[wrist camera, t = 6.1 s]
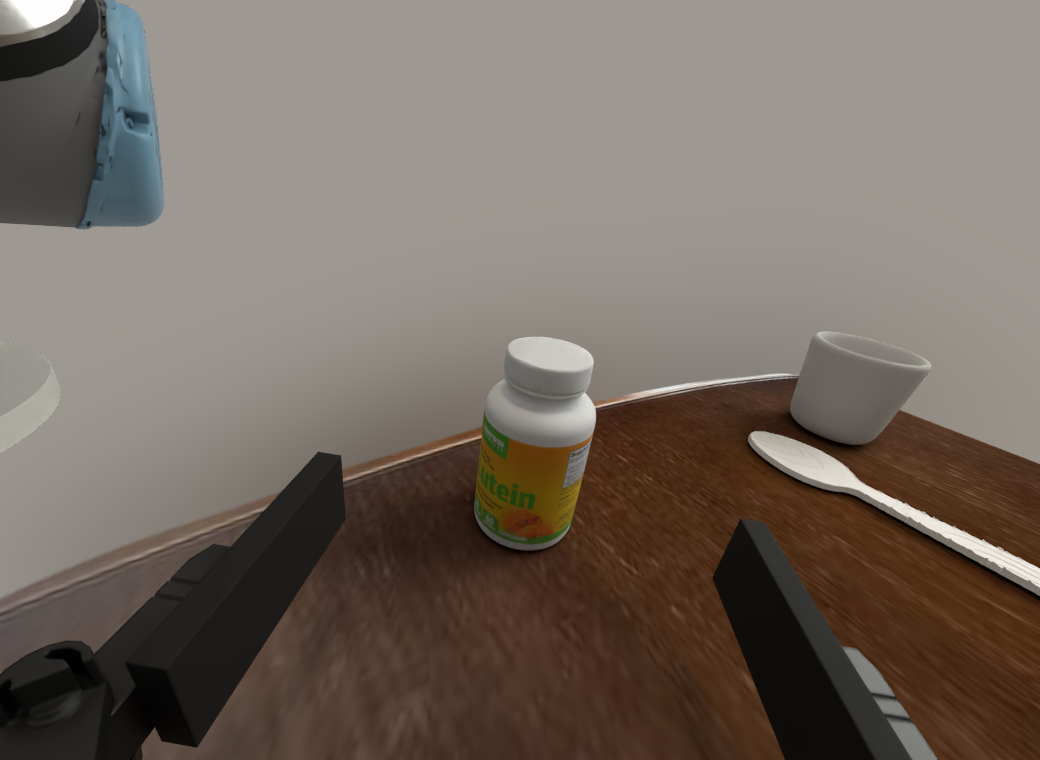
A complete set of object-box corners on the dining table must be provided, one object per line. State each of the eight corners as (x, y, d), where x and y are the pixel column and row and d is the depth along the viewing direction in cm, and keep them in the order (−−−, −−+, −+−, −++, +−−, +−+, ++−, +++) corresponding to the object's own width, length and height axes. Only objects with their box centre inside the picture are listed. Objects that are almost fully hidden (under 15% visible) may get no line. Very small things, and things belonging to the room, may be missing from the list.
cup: (844, 407, 42) (883, 334, 39) (927, 453, 35) (984, 369, 32) (758, 407, 39) (792, 328, 36) (831, 457, 33) (881, 366, 29)
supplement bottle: (452, 517, 22) (465, 347, 18) (510, 470, 26) (532, 323, 22) (537, 573, 19) (576, 391, 15) (586, 511, 23) (627, 355, 19)
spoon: (1092, 639, 20) (1100, 632, 19) (734, 445, 32) (736, 439, 32) (1089, 587, 23) (1095, 580, 23) (764, 428, 35) (766, 423, 35)
